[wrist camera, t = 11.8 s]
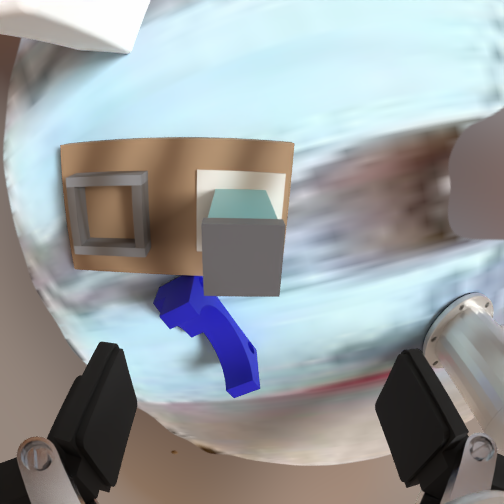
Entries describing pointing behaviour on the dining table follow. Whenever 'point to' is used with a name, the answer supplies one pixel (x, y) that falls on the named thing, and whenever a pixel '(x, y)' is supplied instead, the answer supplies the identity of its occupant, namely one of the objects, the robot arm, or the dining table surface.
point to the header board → (160, 196)
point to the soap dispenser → (75, 22)
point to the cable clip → (210, 330)
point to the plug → (242, 245)
